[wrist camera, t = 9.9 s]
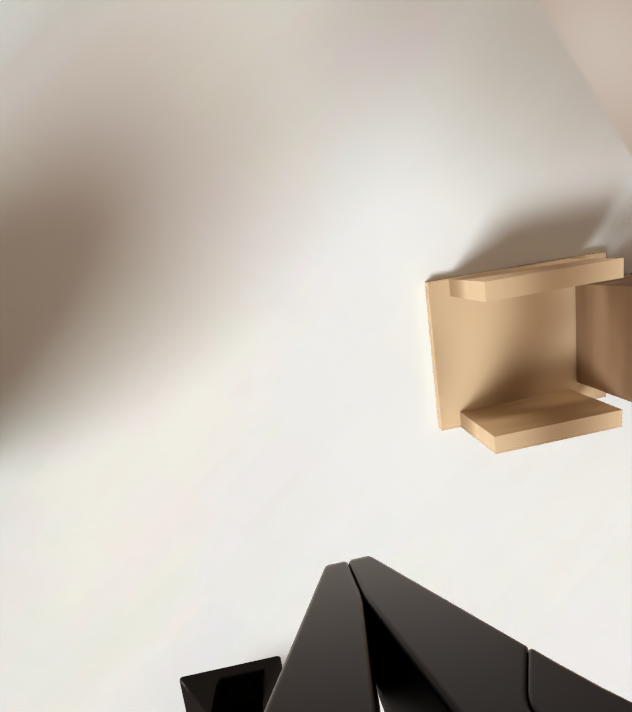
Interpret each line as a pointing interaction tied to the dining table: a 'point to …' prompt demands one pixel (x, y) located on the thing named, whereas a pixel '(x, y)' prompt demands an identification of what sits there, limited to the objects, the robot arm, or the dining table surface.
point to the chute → (516, 353)
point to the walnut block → (605, 336)
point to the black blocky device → (232, 687)
